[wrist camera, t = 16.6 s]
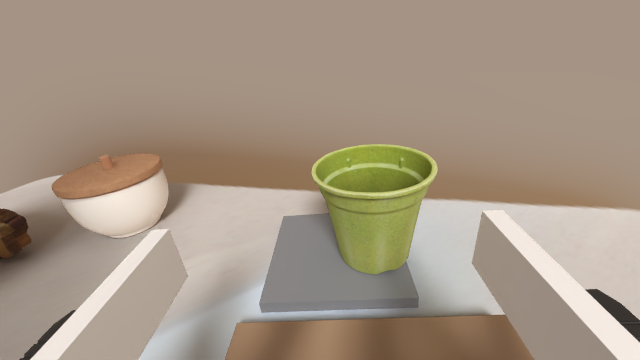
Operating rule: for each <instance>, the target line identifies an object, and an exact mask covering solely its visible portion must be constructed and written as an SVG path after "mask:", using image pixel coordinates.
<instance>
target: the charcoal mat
mask: <svg viewBox="0 0 640 360" xmlns="http://www.w3.org/2000/svg"><path fill="white" fill-rule="evenodd" d="M418 299H419V297H418V294H417V292H416V289H415V286H414V283H413V280H412V277H411V274H410V271H409V268H408V265H407V262H405V263H404V264H403V265H402V266H401V267H400V268H398V269H396V270H388V271H384V272H381V273H379V274H367V273H363V272H360V271H357V270H355V269H353V268H352V267H350V266H349V265H348V264H347V263H346V262H345V261H344V259H343V257H342V255H341V253H340V250H339V246H338V242H337V238H336V234H335V231H334V227H333V223H332V220H331V216H330V214H315V215H298V216H284V217H283V220H282V224H281V228H280V231H279V235H278V238H277V242H276V245H275V249H274V253H273V256H272V260H271V263H270V267H269V270H268V274H267V278H266V281H265V285H264V288H263V292H262V295H261V299H260V303H259V304H260V308H261V312H288V311H318V310H348V309H378V308H407V307H418Z"/></svg>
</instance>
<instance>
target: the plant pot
mask: <svg viewBox="0 0 640 360" xmlns="http://www.w3.org/2000/svg"><path fill="white" fill-rule="evenodd" d="M436 174H437V165H436V163H435V161H434V160H433V159H432V158H431V157H430V156H428V155H427V154H425V153H423V152H421V151H418V150H415V149H412V148H408V147H402V146H396V145H383V144H381V145H380V144H376V145H360V146H354V147H348V148H344V149H341V150H337V151H334V152H331V153H329V154H327V155H325V156H323V157H322V158H320V159H319V160H318V161H317V162H316V163H315V164H314V166H313V167H312V177H313V180H314V181H315V183H316V184H317V185H318V186H319V187H320V191H321V193H322V195H323V197H324V198H325V199H326V203H327V206H328V209H329V213H330V216H331V220H332V223H333V227H334V231H335V234H336V238H337V242H338V246H339V250H340V253H341V255H342V257H343V259H344V261H345V262H346V263H347V264H348V265H349V266H350V267H352V268H353V269H355V270H357V271H360V272H363V273H367V274H379V273H381V272H384V271H388V270H396V269H398V268H400V267H401V266H402V265H403V264H404V263H405V262H406V260H407V258H408V255H409V250H410V246H411V242H412V238H413V233H414V229H415V225H416V221H417V217H418V213H419V209H420V205H421V201H422V198H423V197H424V196H425V194H426V192H427V190H428V186H429V184H430V183H431V182H432V181H433V180H434V179H435V177H436Z"/></svg>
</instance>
